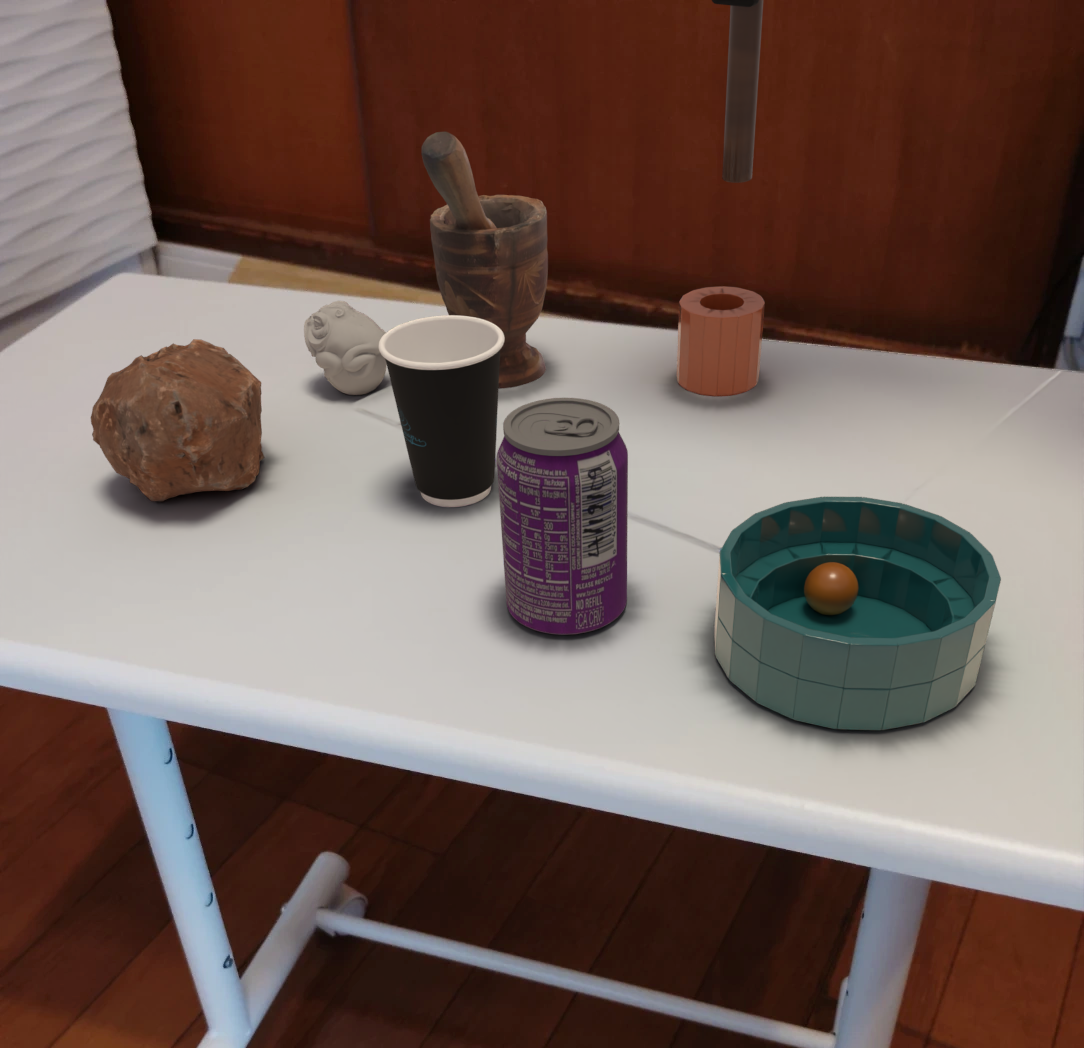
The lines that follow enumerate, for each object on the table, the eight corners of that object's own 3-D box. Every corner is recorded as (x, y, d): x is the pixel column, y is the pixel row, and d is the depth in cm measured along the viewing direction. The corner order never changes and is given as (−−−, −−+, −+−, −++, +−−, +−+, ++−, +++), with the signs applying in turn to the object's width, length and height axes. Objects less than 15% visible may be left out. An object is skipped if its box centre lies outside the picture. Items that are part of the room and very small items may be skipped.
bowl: (800, 559, 74) (810, 472, 70) (1021, 642, 66) (1046, 550, 62) (663, 669, 66) (666, 577, 62) (896, 778, 58) (916, 682, 54)
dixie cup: (375, 507, 81) (352, 350, 73) (441, 457, 86) (425, 306, 79) (473, 534, 77) (458, 373, 70) (535, 481, 82) (528, 326, 75)
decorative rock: (234, 536, 78) (200, 394, 72) (80, 524, 80) (33, 385, 74) (304, 444, 88) (279, 311, 82) (164, 435, 90) (130, 306, 84)
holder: (706, 367, 96) (711, 280, 91) (772, 386, 92) (780, 297, 88) (660, 394, 92) (663, 305, 88) (727, 415, 89) (733, 324, 84)
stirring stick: (733, 172, 81) (748, -111, 71) (757, 177, 80) (776, -110, 70) (716, 180, 80) (729, -107, 70) (740, 184, 79) (757, -107, 69)
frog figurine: (339, 370, 98) (326, 286, 94) (412, 382, 96) (402, 296, 91) (298, 401, 94) (282, 314, 89) (374, 414, 92) (361, 326, 87)
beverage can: (633, 580, 72) (635, 396, 65) (618, 649, 67) (619, 457, 59) (519, 573, 74) (508, 391, 66) (496, 640, 68) (481, 450, 60)
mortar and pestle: (549, 421, 89) (537, 135, 77) (435, 423, 90) (405, 139, 77) (554, 358, 98) (545, 92, 85) (451, 360, 99) (426, 96, 86)
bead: (818, 590, 70) (824, 546, 68) (864, 607, 68) (871, 563, 66) (791, 613, 68) (796, 569, 66) (837, 632, 67) (844, 587, 65)
